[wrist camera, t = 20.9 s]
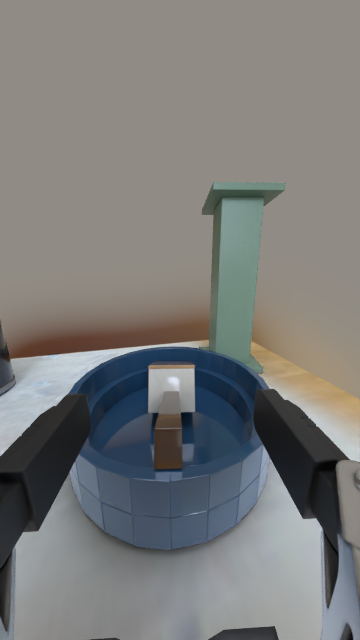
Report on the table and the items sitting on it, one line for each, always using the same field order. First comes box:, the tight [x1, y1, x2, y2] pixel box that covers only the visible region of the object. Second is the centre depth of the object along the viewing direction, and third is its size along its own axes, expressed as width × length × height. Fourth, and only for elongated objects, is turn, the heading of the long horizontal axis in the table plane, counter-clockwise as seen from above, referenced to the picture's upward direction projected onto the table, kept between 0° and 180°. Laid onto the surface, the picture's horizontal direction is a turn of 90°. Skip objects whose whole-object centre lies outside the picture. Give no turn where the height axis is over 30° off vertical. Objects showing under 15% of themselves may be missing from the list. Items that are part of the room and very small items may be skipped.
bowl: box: [68, 347, 270, 550], centre depth 22 cm, size 22×22×6 cm
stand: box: [199, 182, 286, 373], centre depth 38 cm, size 12×11×32 cm
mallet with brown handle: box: [148, 361, 195, 469], centre depth 20 cm, size 16×6×5 cm, turn 1°
